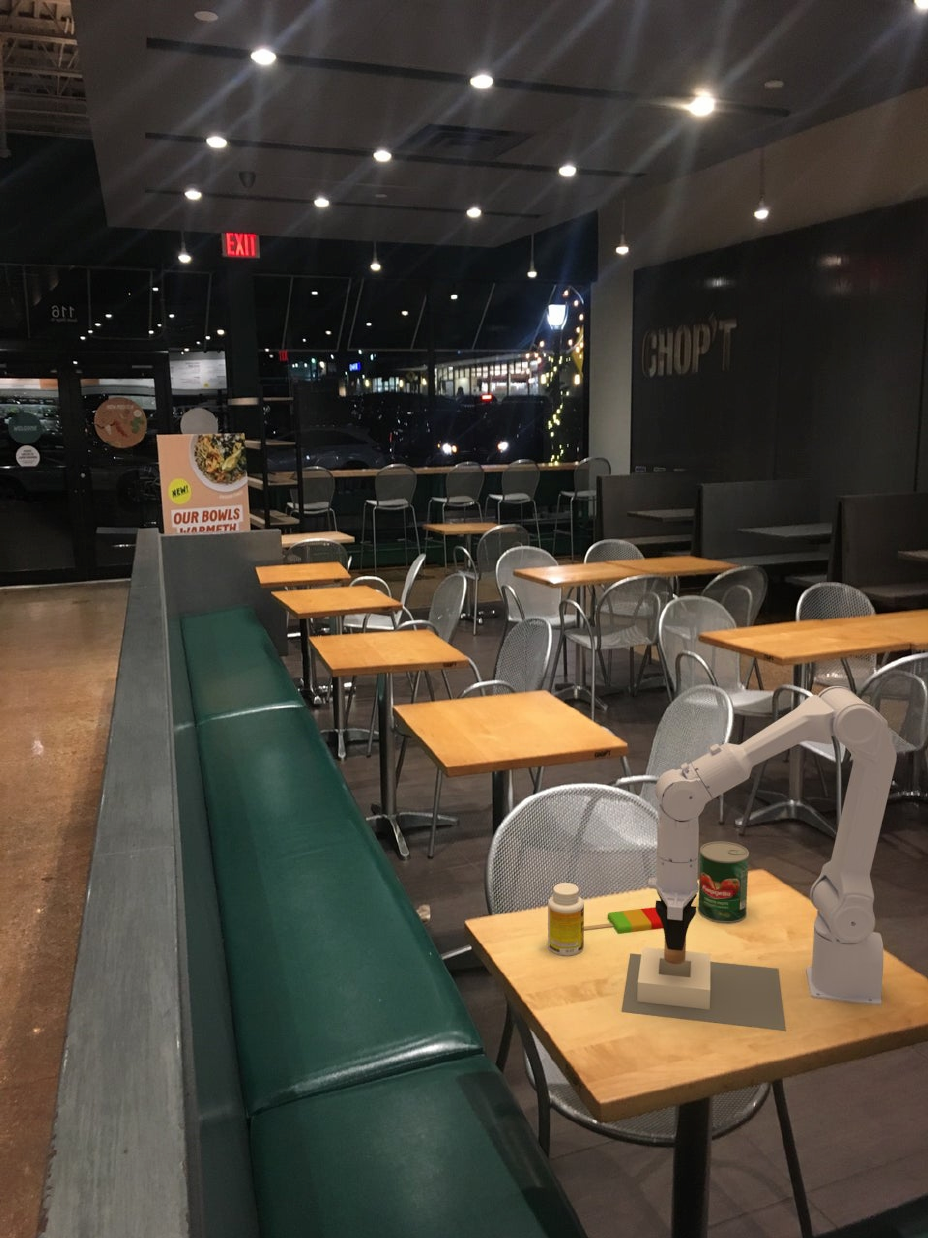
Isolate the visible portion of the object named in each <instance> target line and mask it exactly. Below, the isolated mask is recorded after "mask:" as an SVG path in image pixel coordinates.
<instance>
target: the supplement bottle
mask: <svg viewBox="0 0 928 1238" xmlns="http://www.w3.org/2000/svg"><path fill="white" fill-rule="evenodd" d="M552 890H553V894H552V896H550V898H549V899H548V903H547V921H548V922H547V926H548V927H547V931H548V933H547V937H548V940H547V943H548V944H547V945H548V948H549V950H550V951H551V953H553V954H556V955H559V956H563V957H564V956H567V957H569V956H576V955H578V954H579V953H581V952H582V951H583V949H584V945H585V944H584V943H585V942H584V941H585V940H584V939H585V937H584V936H585V935H584V934H585V933H584V926H585V924H584V923H585V920H584V919H585V903H584V900H583V899H582V898H581V897H580V892H579V891H580V890H579V887H578V886H577V885H576V884H574V883H570V882H561V883H558V884H556V885H554V887H553V889H552Z"/></svg>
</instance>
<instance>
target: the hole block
mask: <svg viewBox="0 0 928 1238" xmlns="http://www.w3.org/2000/svg"><path fill="white" fill-rule="evenodd" d="M710 962H711V953H710V952H709V953H707V952H698V951H688V950H686V956H685V962H684V963H682V964H671V963H668V962H667V961H665V959H664V948H660V947H649V946H642V948H641V961H640V968H639V976H638V995H637V1001H638V1002H647V1003H656V1004H665V1005H673V1006H682V1007H691V1008H700V1009H708V1010H710Z"/></svg>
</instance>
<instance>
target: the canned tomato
mask: <svg viewBox="0 0 928 1238" xmlns="http://www.w3.org/2000/svg"><path fill="white" fill-rule="evenodd" d="M749 855H750V852H749V850H748V849H747V848H746V847H745V846H743V845H741V844H738V843H734V842H729V841H712V842H707V843H704V844H703V845H701V847H700V849H699V873H698V875H699V877H698V878H699V880H698V884H699V890H698V908H697V911H698V914H699V915H700V916H701V917H702V918H704V919H706V920H708V921H711V922H713V923H719V924H736V923H739V922H742V921H743V920H744V919H745V918H746V917H747V904H748V902H747V900H748V899H747V898H748V880H749V879H748V878H749V874H748V873H749V857H750V856H749Z"/></svg>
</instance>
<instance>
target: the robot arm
mask: <svg viewBox="0 0 928 1238" xmlns="http://www.w3.org/2000/svg"><path fill="white" fill-rule="evenodd" d="M888 723H889V722H888V721H887V719H885V718H884V716H883V715H881V714H880V712H879V711H878V710H876V708H875V707H874V706H872V705H870V704H868V703H866V702H865V701H863V700H862V699H861V698H860V697H858V696H857V695H856V694H855V693H854V692H853V691H852V690H851V689H849V688H847V687H845V686H842V685H833V686H829V687H826V688H824V689H822V691H820V692H819V693H818V695H817V694H813V695H810V696H808V697H807V698H806V699H805V700H803V701H802V702H801V703H800V704H799V705H798V706H797V707H796V708H794V709H793V710H791V711H790V712H788V713H787V714H785V715H784V716H782V717H781V718H779V719H778V720H776V721H775V722H773V723H771V724H770V725H768V726H767V727H765V728H763V729H762V730H761V731H759V732H757V733H756V734H755V735H753V736H751V737H750V738H747V739H746V740H745V741H744V742H742V743H740V744H735V743H730V742H725V743H723V744H722V745H719V744H718V743H714V745H711V746H710V747H709V749H710V751H709V752H708V753H706V754H704V755H703V756H701V757H699V758H697V759H695V760H694V761H692V762H690V763H687V762H684V763H683V764H681V765H680V768H677V769H675V768H672V769H669V770H667V771H665V772H663V773H662V774H661V775H660V776H659V779H658V780H657V781H656V784H655V785H654V787H653V790H654V794H655V796H656V798H657V799H658V801H659V802H660V803H659V804H658V813H657V814H658V822H657V839H656V841H657V843H656V878H655V877H649V878H648V881H647V887H648V888H649V889H654V890H655V891H656V892H657V895H658V897H659V899H660V900H658V899H657V900H656V899H655V909H656V912H657V914H658V916H659V918H660V920H661V922H662V925H663V928H662V930H663V934H664V941H665V940H666V945H667V948H668V949H670V950H680V951H681V950H682V949H683V946H684V943H685V938H686V939H687V933H688V929H689V928H690V924H691V922H692V921H693V919H694V918H695V916H696V914H697V905H695V906H693V902H695V900H696V897H697V895H698V894H699V881H698V878H699V877H698V875H699V873H698V871H699V869H698V868H699V836H700V835H699V833H700V832H699V831H700V826H699V816H700V815H701V813H702V812H703V811H704V808H705V806H706V804H707V803H709V802H710V801H712V800H713V799H716V798H717V797H718V796H721V795H722V794H724V793H726V792H727V791H730V790H731V789H732V788H734V787H736V786H739V785H740V784H742V783H744V782H745V781H747V780H749V778H750V776H751V773H752V770H753V768H754V766H756V765H758V764H760V763H762V762H764V761H766V760H769V759H770V758H772V757H775V756H777V755H778V754H780V753H783V752H785V751H787V750H788V749H790V748H792V747H794V746H797V745H798V744H800V743H802V742H806V741H807V742H812V743H820V744H825V745H833V740H832V737H836V740H837V741H838V742H840V743H841V744H842V745H843V746H844V747H845V748H846V749H847V750H848V752H849V753H850V754H851V755H852V757H853V761H852V765H851V766H852V767H851V771H850V775H849V779H848V780H849V781H848V784H847V789H846V792H845V796H844V802H843V806H842V811H841V815H840V819H839V824H838V828H837V833H836V837H835V843H834V847H833V849H832V850H833V851H832V855H831V859H830V860H829V861H828V862H826V863H824V864H823V865H822V868H821V871H820V875H819V876H818V878H817V879H816V880H815V882H814V883H813V884H812V885H811V888H810V892H809V899H810V901H811V904H812V906H813V907H814V908H815V909H816V910H817V912H816V913H817V914H816V917H815V920H814V923H813V939H812V941H813V943H812V959H811V960H812V961H811V966H807V967H806V969H805V971H806V977H807V983H808V984H807V985H808V990H809V996H810V997H811V998H813V999H818V1000H829V1001H838V1002H847V1003H855V1004H856V1003H857V1004H866V1005H874V1006H875V1005H876V1004H877V1005H876V1006H881V1005H882V991H883V989H882V988H883V977H884V976H883V975H884V974H883V973H884V943H883V939H882V938H883V937H882V935H881V933H880V932H875V931H874V929H875V926H876V916H875V914H874V909H873V905H874V901H875V894H874V889H873V885H872V881H871V875H870V874H871V871H872V866H873V861H874V857H875V854H876V850H877V849H876V848H877V844H878V841H879V837H880V832H881V828H882V822H883V819H884V815H885V810H886V806H887V801H888V797H889V794H890V789H891V786H892V780H893V776H894V772H895V767H896V763H897V757H898V755H897V751H896V748H895V745H894V743H893V741H892V737H891V734H890V732H889V730H888ZM697 893H698V894H697ZM686 905H687V906H686Z"/></svg>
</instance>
